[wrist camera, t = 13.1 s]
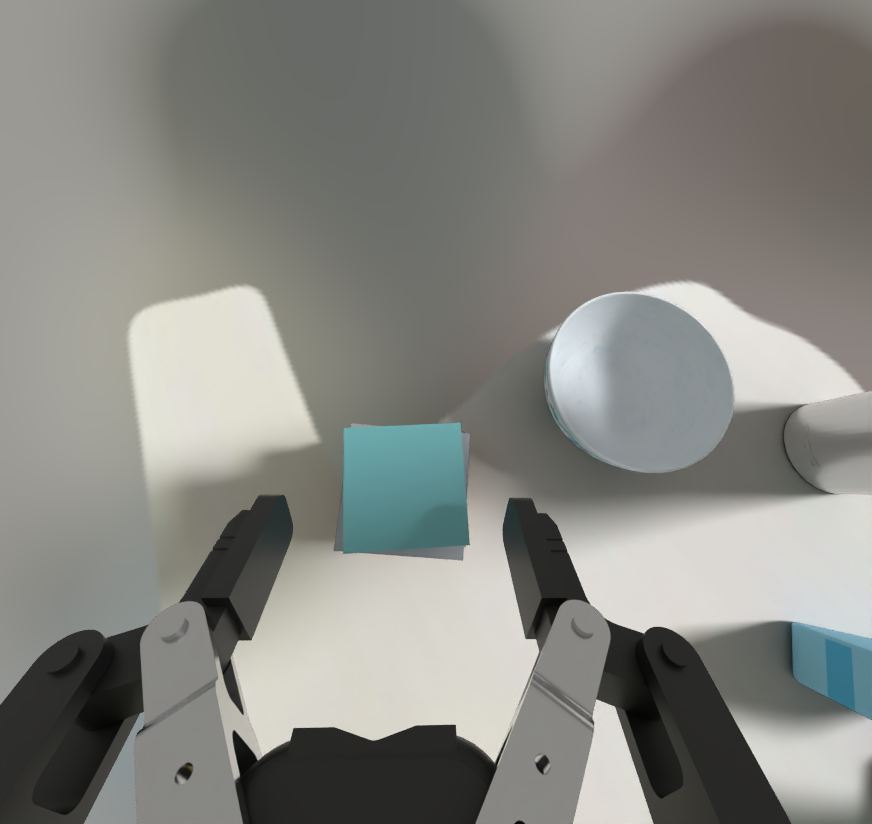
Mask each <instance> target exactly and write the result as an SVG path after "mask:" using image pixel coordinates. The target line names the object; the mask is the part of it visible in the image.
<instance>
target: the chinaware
mask: <svg viewBox="0 0 872 824" xmlns="http://www.w3.org/2000/svg"><path fill="white" fill-rule="evenodd" d="M544 388H545V395H546V399H547V403H548V406H549V409H550V411H551V414H552V416H553V418H554V420H555V421H556V423H557V425H558V426H559V428H560V429H561V430H562V432H563V433H564V434H565V435H566V436H567V437H568V438H569V439H570V440H571V441H572V442H573V443H574V444H575V445H576V446H578V447H579V448H580V449H582V450H583V451H584V452H586V453H587V454H589V455H591V456H593V457H594V458H596V459H598V460H600V461H603V462H605V463H607V464H610V465H613V466H616V467H619V468H623V469H627V470H631V471H637V472H644V473H665V472H672V471H677V470H680V469H683V468H686V467H689V466H691V465H693V464H695V463H697V462H699V461H700V460H702V459H703V458H705V457H706V456H707V455H708V454H710V453H711V452H712V451H713V450H714V449H715V448H716V446H717V445H718V444H719V443H720V441H721V440H722V438H723V437H724V435H725V433H726V431H727V429H728V427H729V424H730V422H731V418H732V414H733V409H734V383H733V377H732V373H731V370H730V367H729V364H728V361H727V359H726V356H725V354H724V352H723V350H722V349H721V347H720V345H719V344H718V342H717V341H716V339H715V338H714V336H713V335H712V334H711V333H710V331H709V330H708V329H707V328H706V327H705V326H704V325H703V324H702V323H701V322H700V321H699V320H698V319H697V318H695V317H694V316H693V315H692V314H690V313H689V312H688V311H686V310H685V309H683V308H682V307H680V306H678V305H676V304H674V303H672V302H670V301H668V300H666V299H663V298H660V297H657V296H654V295H650V294H645V293H639V292H617V293H610V294H606V295H602V296H599V297H596V298H594V299H592V300H590V301H588V302H586V303H584V304H583V305H581V306H580V307H578V308H577V309H576V310H574V311H573V312H572V313H571V314H570V315H569V316H568V317H567V318H566V320H565V321H564V322H563V323H562V325H561V326H560V328H559V329H558V331H557V333H556V335H555V337H554V339H553V341H552V343H551V346H550V349H549V352H548V355H547V359H546V364H545V371H544Z"/></svg>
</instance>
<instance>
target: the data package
mask: <svg viewBox="0 0 872 824" xmlns="http://www.w3.org/2000/svg"><path fill="white" fill-rule="evenodd" d="M792 655H793V677H794V678H795V679H796V680H797V681H798V682H799V683H801V684H803V685H805V686H807V687H808V688H810V689H812V690H814V691H816V692H818V693H820V694H822V695H824V696H826V697H828V698H830V699H832V700H834V701H836V702H838V703H840V704H841V705H843V706H845V707H847V708H849V709H851V710H853V711H855V712H857V713H859V714H861V715H863V716H865V717H867V718H869V719H871V720H872V639H870V638H865V637H861V636H856V635H852V634H847V633H843V632H838V631H834V630H829V629H825V628H820V627H816V626H811V625H807V624H802V623H797V622H794V623H792Z"/></svg>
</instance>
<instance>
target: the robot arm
mask: <svg viewBox="0 0 872 824" xmlns="http://www.w3.org/2000/svg"><path fill="white" fill-rule="evenodd" d="M784 442H785V448H786V451H787V454H788V457H789V459H790V461H791V463H792V464H793V466H794V467H795V469H796V470H797V471H798V473H799V474H800V475H801V476H802V477H803V478H804V479H805V480H806V481H807V482H809V483H810V484H812V485H813V486H815V487H816V488H818V489H821V490H823V491H825V492H829V493H834V494H864V495H872V391H869V392H864V393H859V394H854V395H849V396H845V397H840V398H836V399H831V400H826V401H822V402H817V403H812V404H808V405H804V406H802V407H800V408H798V409H797V410H796V411H794V412H793V413H792V414H791V416H790V417H789V419H788V420H787V423H786V426H785V431H784ZM292 533H293V523H292V519H291V516H290V512H289V508H288V505H287V501H286V498H285V496H284V495H260V496H258V498H257V499H256V501H255V503H254V504H253V506H252V508H251V510H242V511H241V512H240V513H239V514H238V515H236V516H235V517H234V518H233V519H232V520H231V521H230V522H229V523H228V524H227V526H226V528H225V529H224V531H223V533H222V534H221V536H220V539H219V540H218V541H217V542H216V544H215V546H214V547H213V551H211V552H210V554H209V555H208V557H207V559H206V560H205V562H204V564H203V565H202V567H201V568H200V570H199V572H198V573H197V575H196V577H195V578H194V580H193V582H192V583H191V585H190V586H189V588H188V590H187V591H186V593H185V595H184V596H183V598H182V599H181V600H180V602H179V603H178V604H175V605H173V606H171V607H169V608H167V609H166V610H164V611H163V612H161V613H160V614H159V615H158V616H156V617H155V619H153V621H151V623H150V624H149V625H147V626H143V627H140V628H137V629H134V630H131V631H127V632H124V633H121V634H118V635H114V636H111V637H108V638H105V637H104V636H103V635H102V634H101V633H100V632H98V631H96V630H84V631H80V632H76V633H74V634H71V635H69V636H67V637H65V638H63V639H62V640H60V641H58V642H57V643H55V644H54V645H53V646H51V647H50V648H48V649H47V650H46V651H45V652H44V653H43V654H42V655H41V656H40V657H39V658H38V659H37V660H36V661H35V662H34V663H33V665H32V666H31V667H30V668H29V670H28V671H27V672H26V674H25V675H24V676H23V677H22V679H21V680H20V681H19V682H18V683H17V685H16V686H15V687H14V689H13V690H12V691H11V692H10V694H9V695H8V696H7V697H6V699H5V700H4V701H3V703H2V704H1V705H0V824H84V822H85V820H86V818H87V816H88V814H89V812H90V810H91V808H92V806H93V804H94V802H95V800H96V798H97V796H98V794H99V792H100V791H101V789H102V786H103V785H104V783H105V781H106V779H107V777H108V775H109V773H110V771H111V769H112V767H113V765H114V763H115V761H116V759H117V757H118V755H119V753H120V751H121V749H122V747H123V745H124V743H125V741H126V740H127V737H128V736H129V734H130V731H131V730H132V728H133V726H134V724H135V722H136V720H137V718H138V716H139V714H140V713H142V712H144V726H143V729H141V730H140V731H139V732H138V733H137V735H136V738H135V743H134V762H135V789H136V815H137V824H573V820H574V816H575V812H576V807H577V803H578V799H579V794H580V790H581V786H582V781H583V777H584V773H585V768H586V764H587V760H588V755H589V751H590V747H591V742H592V738H593V732H594V721H593V720H592V716H593V710H594V706H595V702H596V699H597V700H600V701H602V702H605V703H607V704H610V705H613V706H615V707H616V710H617V714H618V717H619V720H620V723H621V726H622V729H623V732H624V735H625V738H626V741H627V744H628V747H629V750H630V753H631V756H632V759H633V762H634V765H635V768H636V771H637V774H638V777H639V780H640V783H641V786H642V790H643V793H644V796H645V799H646V802H647V805H648V808H649V811H650V814H651V817H652V820H653V823H654V824H791V822H790V820H789V818H788V817H787V815H786V813H785V811H784V809H783V807H782V806H781V804H780V802H779V800H778V798H777V797H776V795H775V793H774V791H773V789H772V787H771V786H770V784H769V782H768V780H767V778H766V777H765V775H764V773H763V771H762V769H761V767H760V766H759V764H758V762H757V760H756V758H755V757H754V755H753V753H752V751H751V749H750V748H749V746H748V744H747V742H746V740H745V738H744V737H743V735H742V733H741V731H740V729H739V728H738V726H737V724H736V722H735V720H734V718H733V717H732V715H731V713H730V711H729V709H728V708H727V706H726V704H725V702H724V700H723V698H722V697H721V695H720V693H719V691H718V689H717V688H716V686H715V684H714V682H713V680H712V678H711V677H710V675H709V673H708V671H707V669H706V668H705V666H704V664H703V662H702V660H701V659H700V657H699V655H698V654H697V652H696V651H695V649H694V648H693V647H692V646H691V645H690V644H689V642H687V641H686V640H685V639H684V638H683V637H682V636H680V635H679V634H677V633H675V632H674V631H672V630H669V629H667V628H663V627H653V628H650V629H648V630H647V631H646V632H645V634H643V633H640V632H637V631H634V630H631V629H628V628H625V627H622V626H619V625H617V624H614V623H612V622H610V621H608V620H607V619H605V618H604V617H603V616H602V614H601V613H600V612H599V611H598V610H597V609H595V608H594V607H593V606H591V605H590V603H589V601H588V600H587V598H586V596H585V593H584V591H583V588H582V586H581V583H580V581H579V578H578V576H577V573H576V571H575V569H574V566H573V564H572V561H571V559H570V556H569V554H568V553H567V549H566V546H565V544H564V542H563V541H562V537H561V534H560V532H559V529H558V527H557V525H556V524H555V523H554V521H553V520H552V519H551V518H550V517H549V516H548V515H547V514H546V513H537V511H536V508H535V505H534V503H533V500H532V499H531V498H510V499H509V501H508V506H507V510H506V514H505V519H504V523H503V542H504V546H505V551H506V555H507V559H508V564H509V568H510V573H511V577H512V581H513V586H514V590H515V594H516V599H517V603H518V607H519V612H520V616H521V620H522V625H523V629H524V634H525V638H526V639H536V640H537V644H538V648H539V654H538V656H537V659H536V661H535V664H534V666H533V669H532V671H531V674H530V676H529V679H528V681H527V684H526V686H525V689H524V691H523V694H522V696H521V699H520V701H519V704H518V707H517V709H516V711H515V714H514V716H513V719H512V721H511V723H510V726H509V728H508V731H507V733H506V736H505V738H504V740H503V743H502V745H501V748H500V750H499V753H498V755H497V758H496V760H495V763H494V762H493V761H492V759H491V758H490V757H489V756H488V755H487V754H486V753H485V752H484V751H483V750H481V749H480V748H479V747H477V746H476V745H475V744H473V743H472V742H470V741H468V740H466V739H464V738H462V737H459V736H456V725H423V726H414V727H412V728H409V729H406V730H404V731H401V732H398V733H396V734H393V735H390V736H388V737H385V738H382V739H380V740H376V741H372V740H368V739H366V738H363V737H360V736H357V735H354V734H351V733H349V732H346V731H343V730H340V729H337V728H334V727H329V728H294V729H293V733H292V737H291V741H288V742H285V743H284V744H282V745H280V746H278V747H276V748H274V749H273V750H271V751H270V752H268V753H267V754H265V755H264V756H263V757H262V754H261V751H260V747H259V744H258V741H257V738H256V735H255V732H254V730H253V728H252V725H251V723H250V720H249V717H248V713H247V709H246V705H245V701H244V698H243V694H242V690H241V686H240V682H239V678H238V674H237V670H236V666H235V662H234V658H233V655H232V653H233V651H234V649H235V646H236V644H237V642H238V640H252V637H253V635H254V632H255V630H256V627H257V625H258V622H259V620H260V617H261V615H262V612H263V610H264V607H265V605H266V602H267V600H268V597H269V595H270V592H271V590H272V587H273V584H274V582H275V579H276V577H277V574H278V572H279V569H280V567H281V564H282V562H283V559H284V557H285V554H286V552H287V549H288V547H289V544H290V541H291V538H292Z"/></svg>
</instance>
